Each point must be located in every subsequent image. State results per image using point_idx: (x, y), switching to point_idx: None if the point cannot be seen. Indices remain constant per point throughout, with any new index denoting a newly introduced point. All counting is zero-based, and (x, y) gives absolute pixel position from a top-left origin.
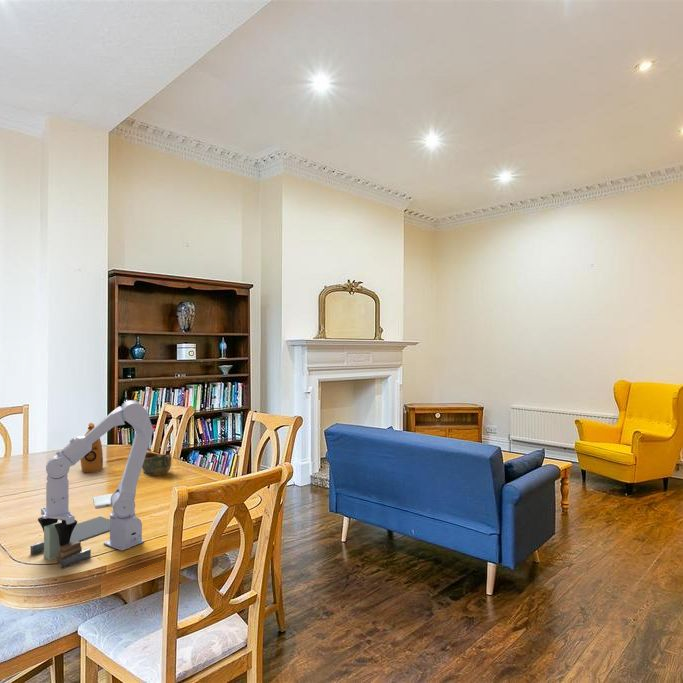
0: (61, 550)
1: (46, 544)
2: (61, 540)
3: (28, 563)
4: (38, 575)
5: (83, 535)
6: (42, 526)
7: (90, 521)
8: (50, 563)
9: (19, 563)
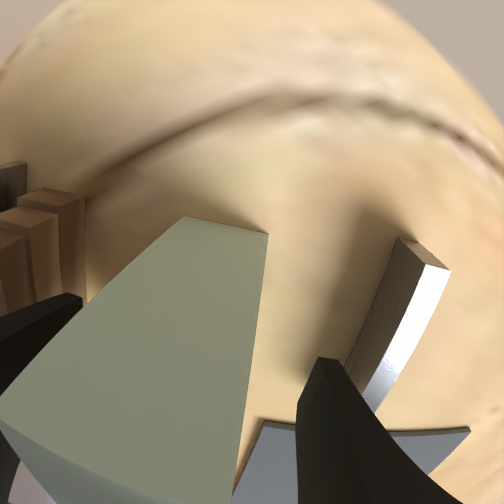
0: (4, 234)
1: (201, 276)
2: (11, 316)
3: (285, 103)
4: (58, 38)
5: (286, 474)
6: (407, 485)
7: None
8: (122, 174)
9: (357, 82)
